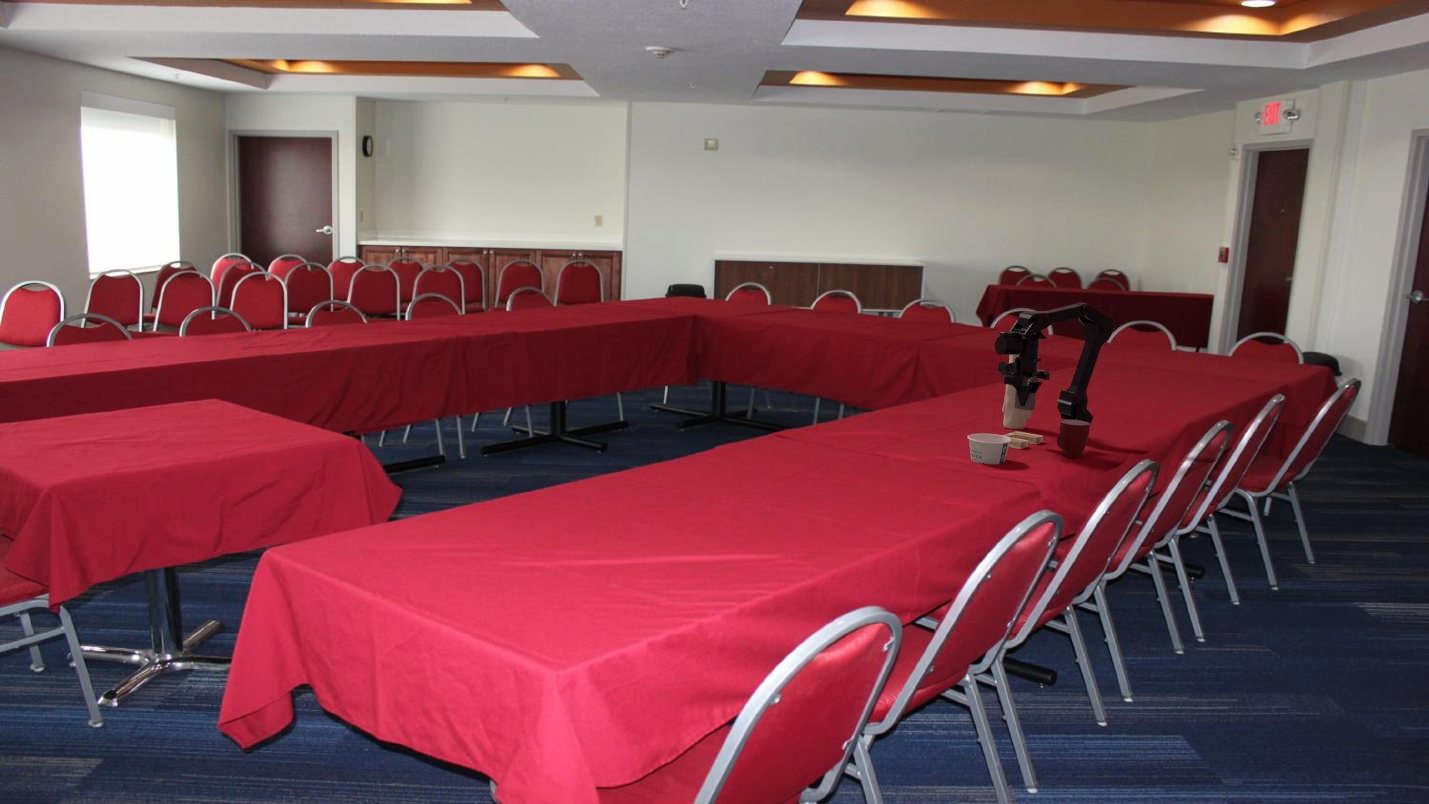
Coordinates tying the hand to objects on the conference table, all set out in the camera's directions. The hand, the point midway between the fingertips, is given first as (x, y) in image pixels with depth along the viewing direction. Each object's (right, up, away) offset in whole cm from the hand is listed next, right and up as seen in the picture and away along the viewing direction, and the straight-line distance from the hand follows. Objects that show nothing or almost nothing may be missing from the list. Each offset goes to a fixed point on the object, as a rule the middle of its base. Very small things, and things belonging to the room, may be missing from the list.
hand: (1024, 405), depth 320 cm
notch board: (-1, -11, +3) cm, 12 cm away
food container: (-16, -16, -19) cm, 30 cm away
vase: (+5, -8, +27) cm, 28 cm away
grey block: (0, -1, 0) cm, 1 cm away
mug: (+9, -15, -13) cm, 22 cm away
